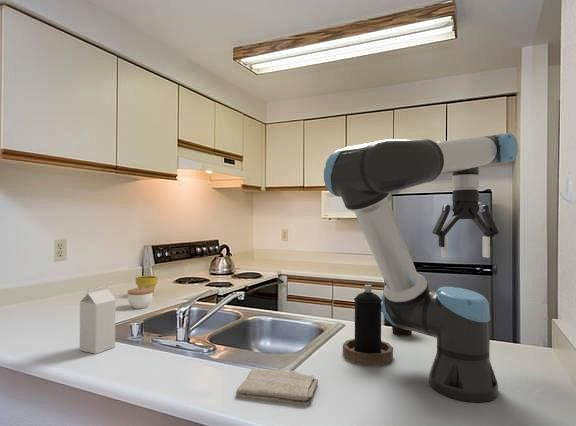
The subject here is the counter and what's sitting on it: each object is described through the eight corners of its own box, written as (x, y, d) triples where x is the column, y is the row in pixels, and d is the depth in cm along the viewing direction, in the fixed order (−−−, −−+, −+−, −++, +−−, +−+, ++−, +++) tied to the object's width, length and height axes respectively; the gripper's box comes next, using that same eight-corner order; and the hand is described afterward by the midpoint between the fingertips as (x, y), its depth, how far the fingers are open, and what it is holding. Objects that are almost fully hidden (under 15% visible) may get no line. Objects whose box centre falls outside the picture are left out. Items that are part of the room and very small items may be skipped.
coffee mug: (416, 337, 130) (416, 308, 130) (390, 336, 132) (390, 307, 132) (412, 328, 141) (412, 301, 141) (388, 326, 143) (388, 300, 143)
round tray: (399, 364, 107) (399, 354, 107) (350, 366, 105) (350, 355, 105) (382, 347, 121) (382, 337, 121) (339, 348, 119) (339, 338, 119)
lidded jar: (146, 303, 179) (146, 283, 179) (157, 307, 172) (157, 286, 172) (123, 307, 172) (123, 286, 172) (133, 311, 164) (133, 289, 164)
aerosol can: (365, 359, 107) (366, 289, 107) (347, 350, 115) (348, 284, 115) (387, 354, 111) (388, 286, 111) (369, 346, 119) (369, 281, 118)
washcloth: (311, 408, 83) (311, 394, 83) (234, 400, 87) (234, 386, 87) (319, 384, 95) (319, 372, 95) (250, 378, 99) (250, 366, 99)
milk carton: (115, 347, 120) (115, 286, 120) (95, 354, 113) (95, 290, 113) (99, 343, 123) (99, 284, 123) (79, 351, 116) (79, 288, 116)
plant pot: (159, 293, 201) (159, 275, 201) (154, 298, 190) (154, 278, 190) (139, 294, 200) (139, 275, 200) (132, 298, 190) (132, 278, 190)
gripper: (495, 190, 124) (495, 255, 124) (421, 189, 122) (421, 256, 121) (511, 189, 116) (511, 258, 116) (432, 188, 114) (432, 259, 114)
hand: (465, 257), depth 119 cm, fingers open, 13 cm apart
